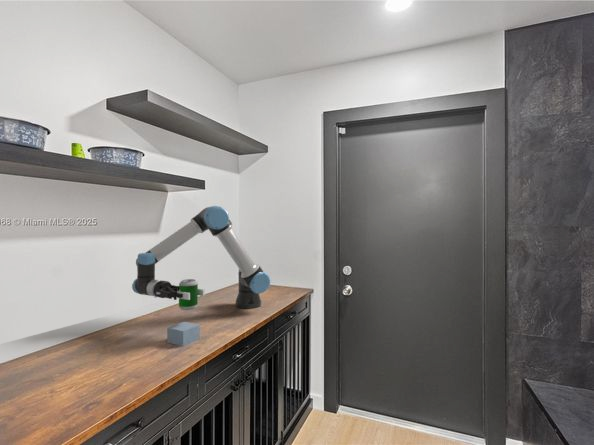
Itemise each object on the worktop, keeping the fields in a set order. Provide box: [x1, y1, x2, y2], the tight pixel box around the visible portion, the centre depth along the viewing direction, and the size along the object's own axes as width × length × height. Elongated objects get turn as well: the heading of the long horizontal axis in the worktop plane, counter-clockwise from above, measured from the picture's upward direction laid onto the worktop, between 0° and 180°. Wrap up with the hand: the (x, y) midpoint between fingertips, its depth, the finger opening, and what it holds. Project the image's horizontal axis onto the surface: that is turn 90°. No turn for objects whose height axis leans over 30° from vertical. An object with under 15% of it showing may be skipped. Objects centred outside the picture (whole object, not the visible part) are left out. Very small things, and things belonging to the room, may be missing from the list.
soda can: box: [178, 278, 199, 311], centre depth 135 cm, size 8×8×12 cm
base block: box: [166, 321, 201, 347], centre depth 131 cm, size 9×9×6 cm
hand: (196, 294), depth 133 cm, fingers closed on soda can, 7 cm apart
